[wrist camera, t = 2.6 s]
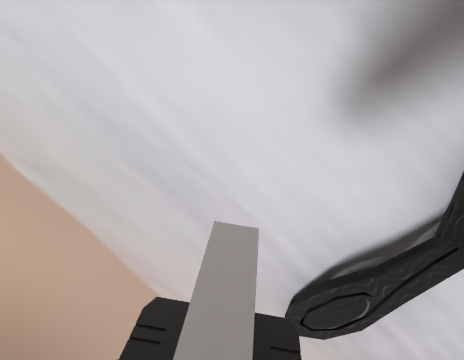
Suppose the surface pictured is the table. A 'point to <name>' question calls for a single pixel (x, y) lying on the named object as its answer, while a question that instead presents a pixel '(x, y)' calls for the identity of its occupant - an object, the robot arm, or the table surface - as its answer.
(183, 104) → the table surface
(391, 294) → the hairbrush
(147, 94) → the table surface
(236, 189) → the table surface
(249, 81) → the table surface
